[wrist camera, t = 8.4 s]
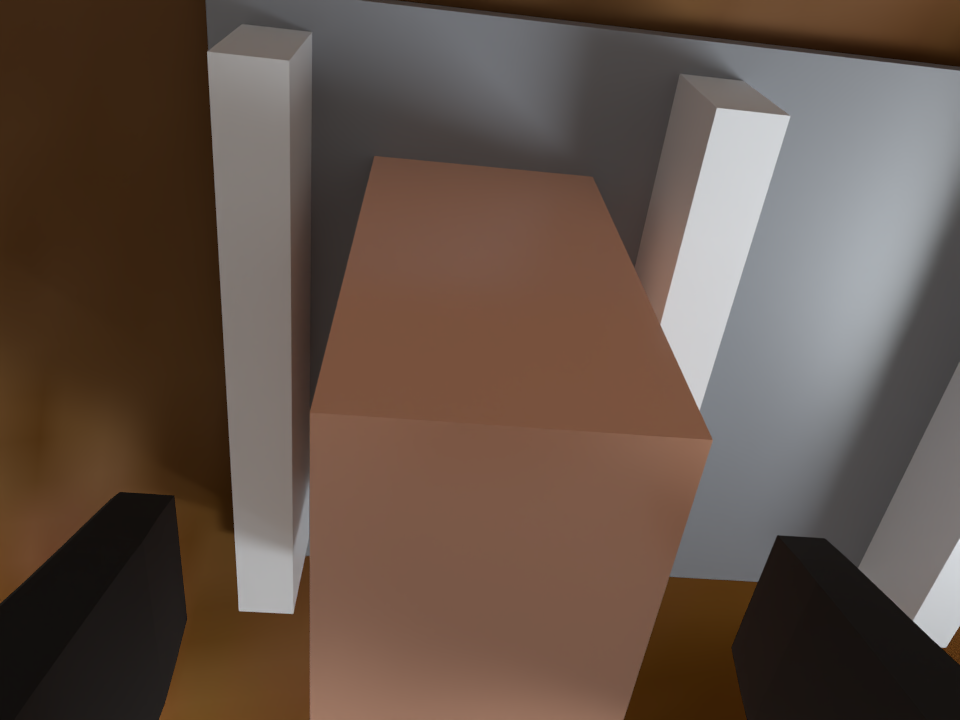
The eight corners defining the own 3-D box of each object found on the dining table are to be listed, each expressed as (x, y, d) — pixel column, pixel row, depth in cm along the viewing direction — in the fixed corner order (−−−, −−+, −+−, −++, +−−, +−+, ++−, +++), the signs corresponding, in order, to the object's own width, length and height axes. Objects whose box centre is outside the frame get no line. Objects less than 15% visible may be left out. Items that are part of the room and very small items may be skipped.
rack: (1164, 91, 13) (1297, 133, 11) (903, 577, 19) (959, 665, 17) (212, -22, 12) (161, 3, 10) (240, 538, 17) (213, 627, 15)
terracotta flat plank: (592, 176, 13) (712, 440, 7) (531, 505, 17) (577, 863, 11) (373, 156, 13) (310, 412, 7) (360, 495, 16) (310, 856, 10)
